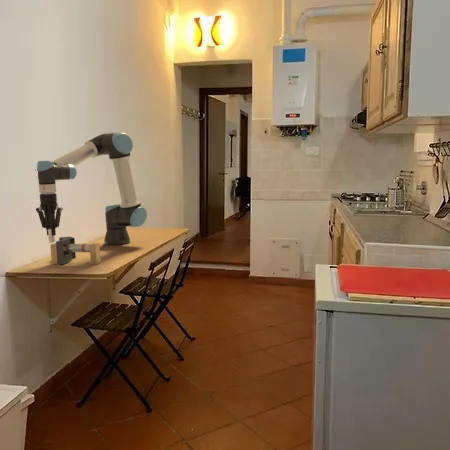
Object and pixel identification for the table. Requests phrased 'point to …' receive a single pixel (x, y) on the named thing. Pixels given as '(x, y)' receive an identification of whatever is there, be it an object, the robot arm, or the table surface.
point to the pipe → (91, 248)
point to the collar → (62, 251)
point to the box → (72, 241)
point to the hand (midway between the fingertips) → (51, 242)
